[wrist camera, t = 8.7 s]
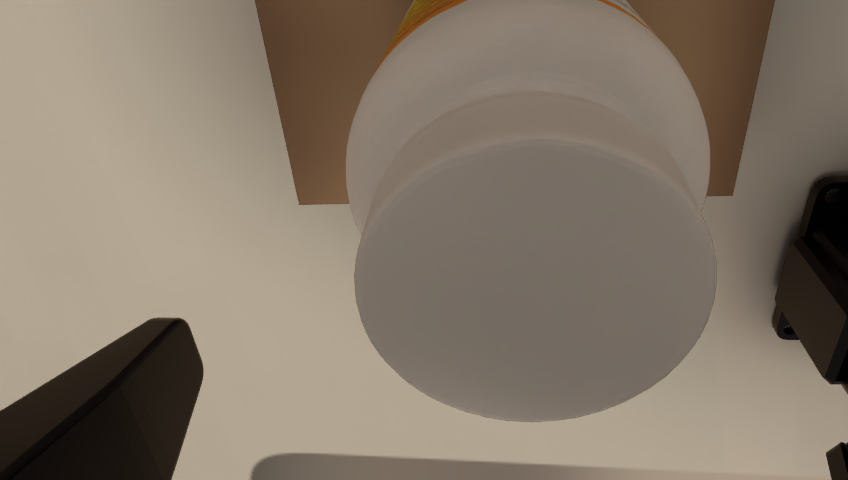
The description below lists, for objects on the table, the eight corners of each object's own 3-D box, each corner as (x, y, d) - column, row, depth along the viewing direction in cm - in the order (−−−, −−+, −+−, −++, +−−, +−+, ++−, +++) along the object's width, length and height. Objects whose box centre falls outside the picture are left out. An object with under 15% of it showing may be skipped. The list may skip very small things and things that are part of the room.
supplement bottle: (415, 163, 17) (338, 462, 9) (386, -52, 14) (229, 88, 6) (619, 150, 16) (748, 466, 8) (632, -81, 13) (858, 33, 5)
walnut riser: (747, -161, 15) (809, -162, 12) (695, 141, 19) (732, 195, 16) (279, -117, 17) (231, -110, 14) (327, 153, 21) (299, 204, 18)
